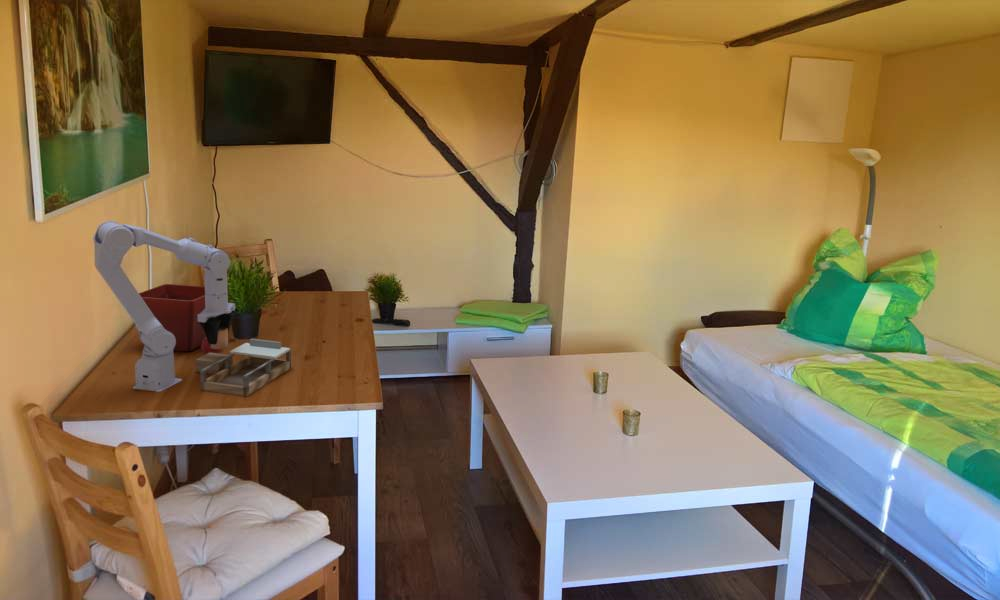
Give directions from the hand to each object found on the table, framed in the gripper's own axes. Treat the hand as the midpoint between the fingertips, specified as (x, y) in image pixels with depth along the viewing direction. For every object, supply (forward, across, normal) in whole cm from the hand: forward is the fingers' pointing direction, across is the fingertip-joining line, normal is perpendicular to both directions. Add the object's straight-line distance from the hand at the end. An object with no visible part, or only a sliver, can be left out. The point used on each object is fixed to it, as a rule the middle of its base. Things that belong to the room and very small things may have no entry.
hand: (217, 341), depth 200 cm
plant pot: (+10, +19, +25) cm, 33 cm away
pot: (+2, 0, 0) cm, 2 cm away
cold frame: (+9, -1, -10) cm, 13 cm away
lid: (+3, +5, -9) cm, 11 cm away
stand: (+9, +2, +2) cm, 10 cm away
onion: (+10, +12, +10) cm, 18 cm away
